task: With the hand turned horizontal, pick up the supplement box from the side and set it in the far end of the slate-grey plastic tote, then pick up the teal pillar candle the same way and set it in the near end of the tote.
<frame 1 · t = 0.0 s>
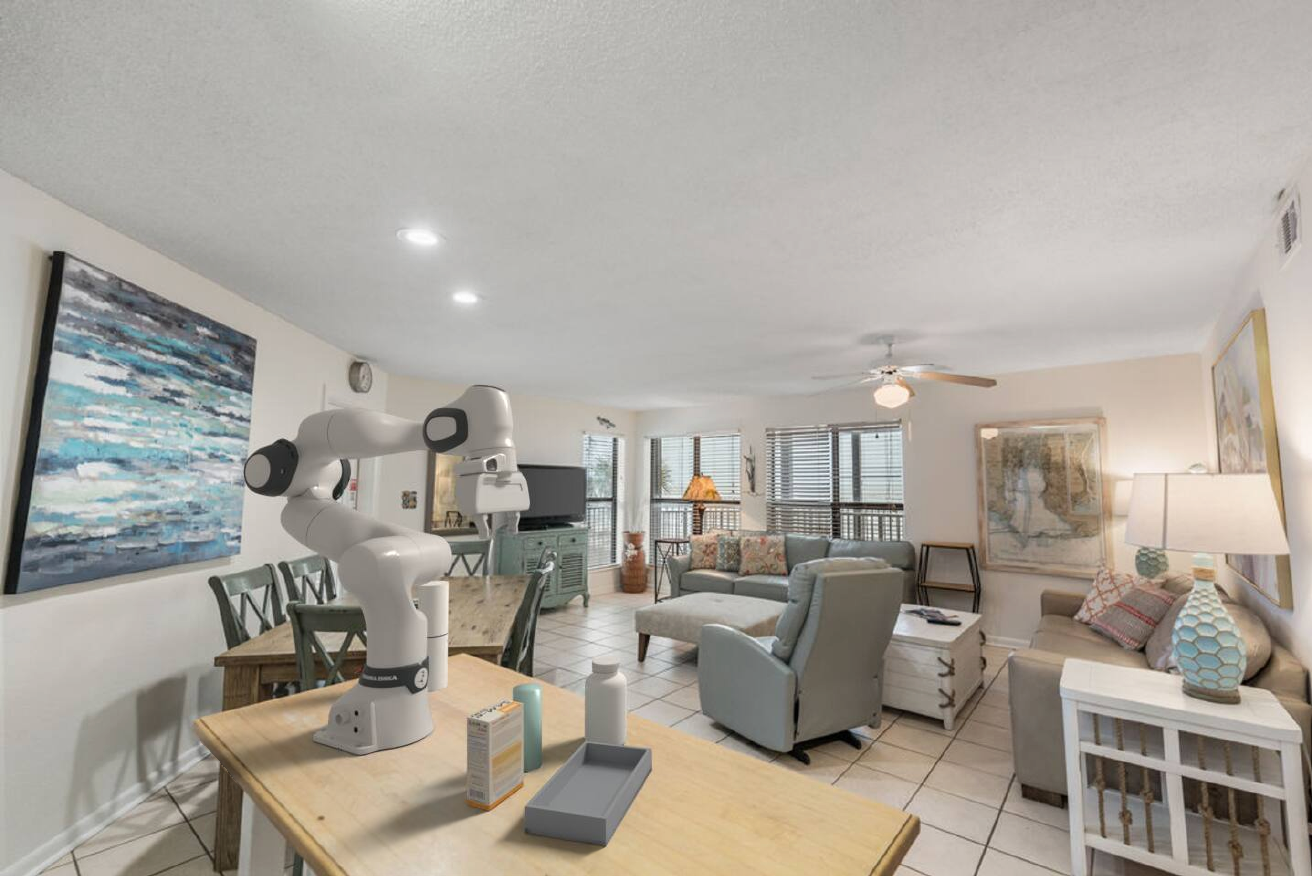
hand: (499, 536, 109), 39 cm above the table, tool pointing down, fingers open, 8 cm apart
candle: (527, 764, 98), on the table
cylindrical container: (431, 687, 139), on the table
supplement box: (495, 796, 89), on the table
pill bottle: (606, 742, 107), on the table
tote: (594, 798, 87), on the table
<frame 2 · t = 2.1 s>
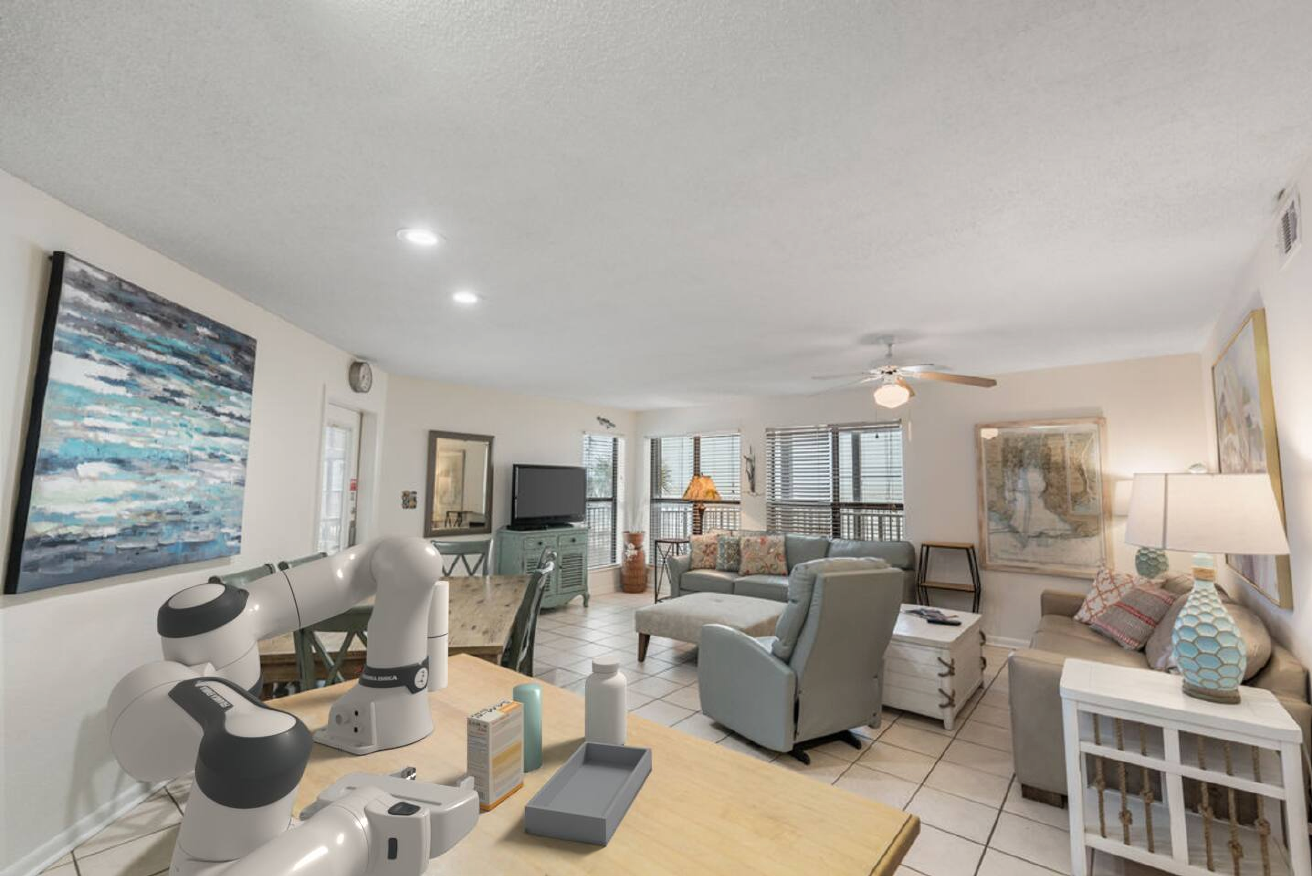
hand: (440, 776, 77), 9 cm above the table, tool horizontal, fingers open, 8 cm apart
nothing on the table moved.
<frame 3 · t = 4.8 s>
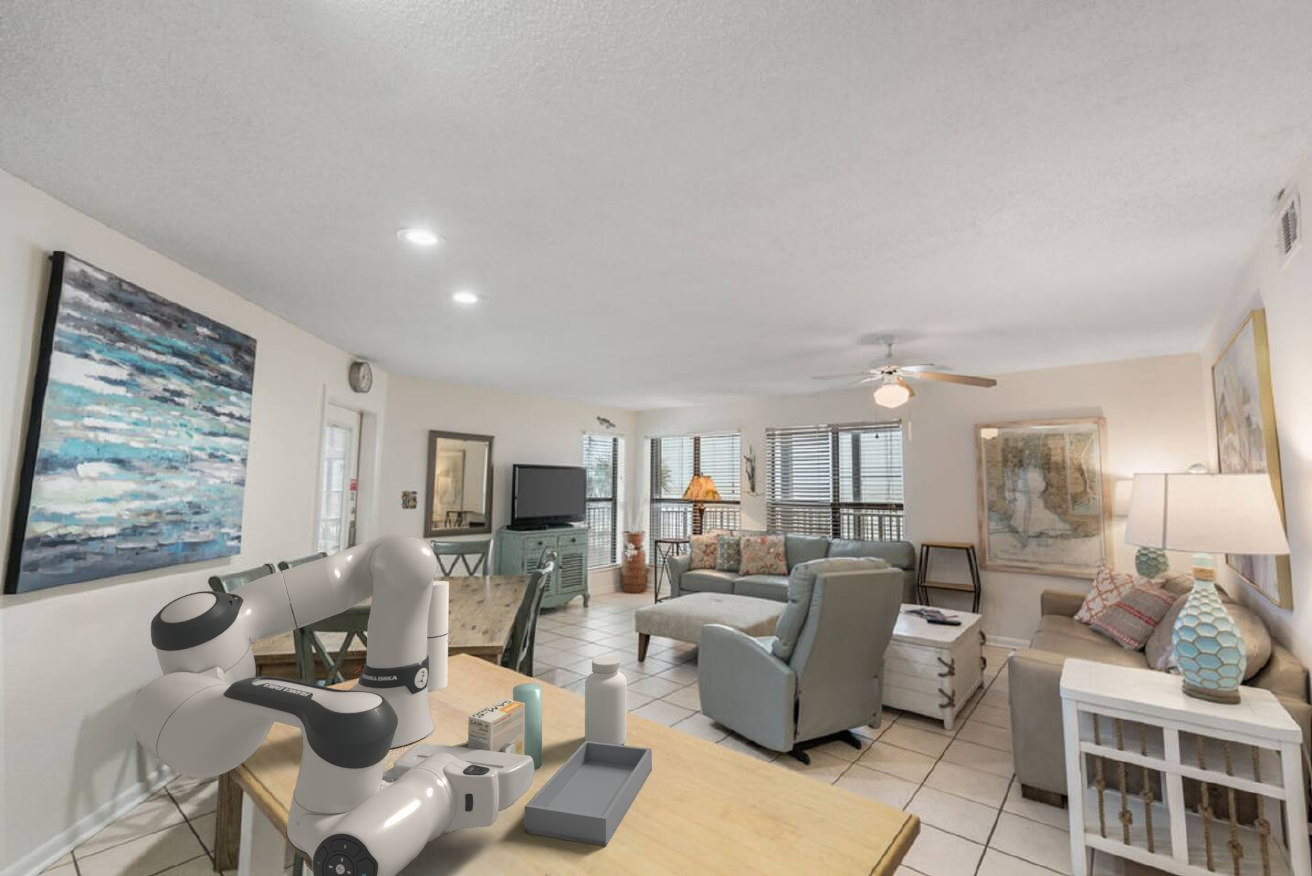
hand: (493, 746, 89), 8 cm above the table, tool horizontal, fingers closed on supplement box, 5 cm apart
supplement box: (495, 795, 89), on the table, touching gripper
everything else where it was.
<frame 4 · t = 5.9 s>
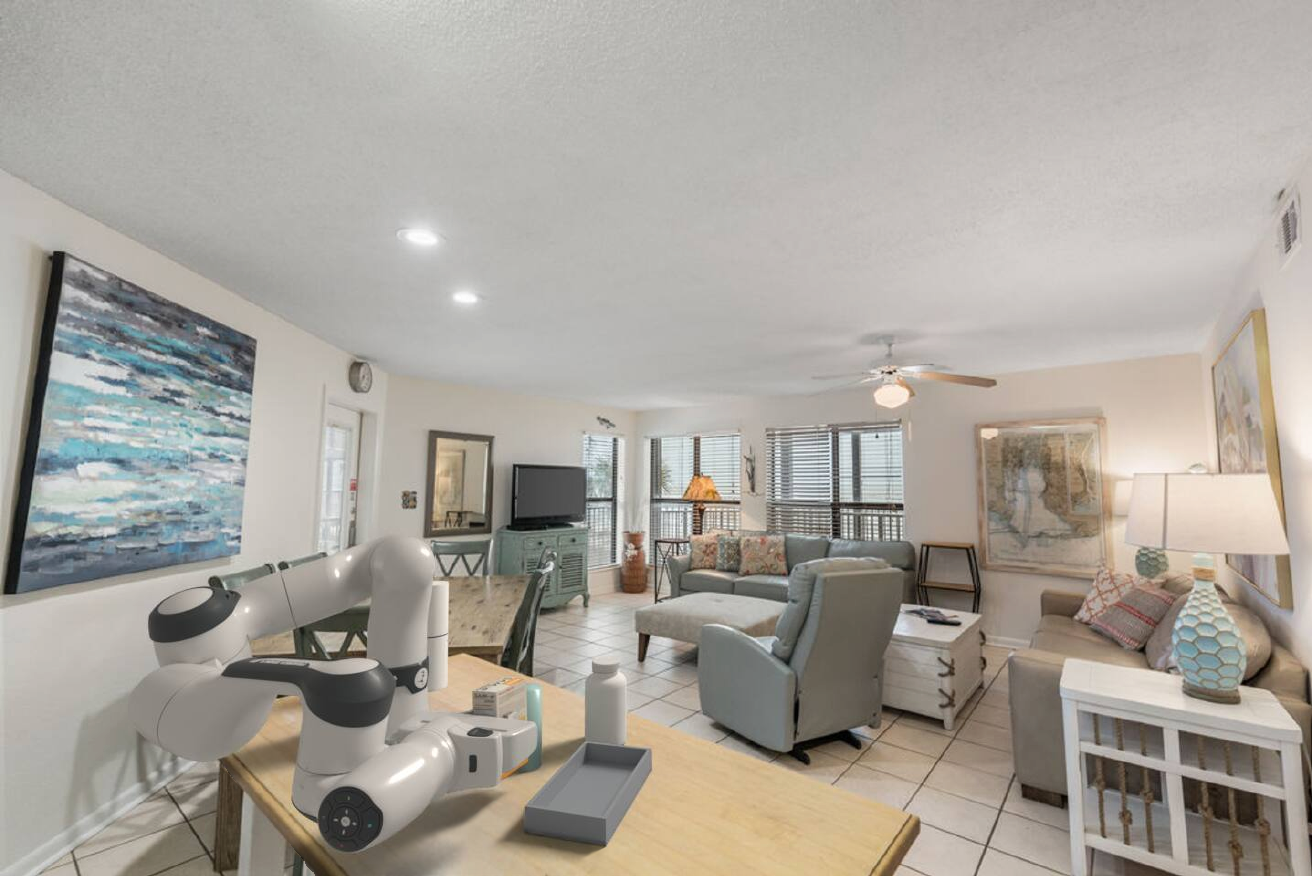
hand: (496, 714, 89), 12 cm above the table, tool horizontal, fingers closed on supplement box, 5 cm apart
supplement box: (501, 772, 88), point 4 cm above the table, touching gripper
everything else where it was.
when the fingers open (10 cm above the table, at t = 9.4 s): supplement box moves 2 cm, resting on tote.
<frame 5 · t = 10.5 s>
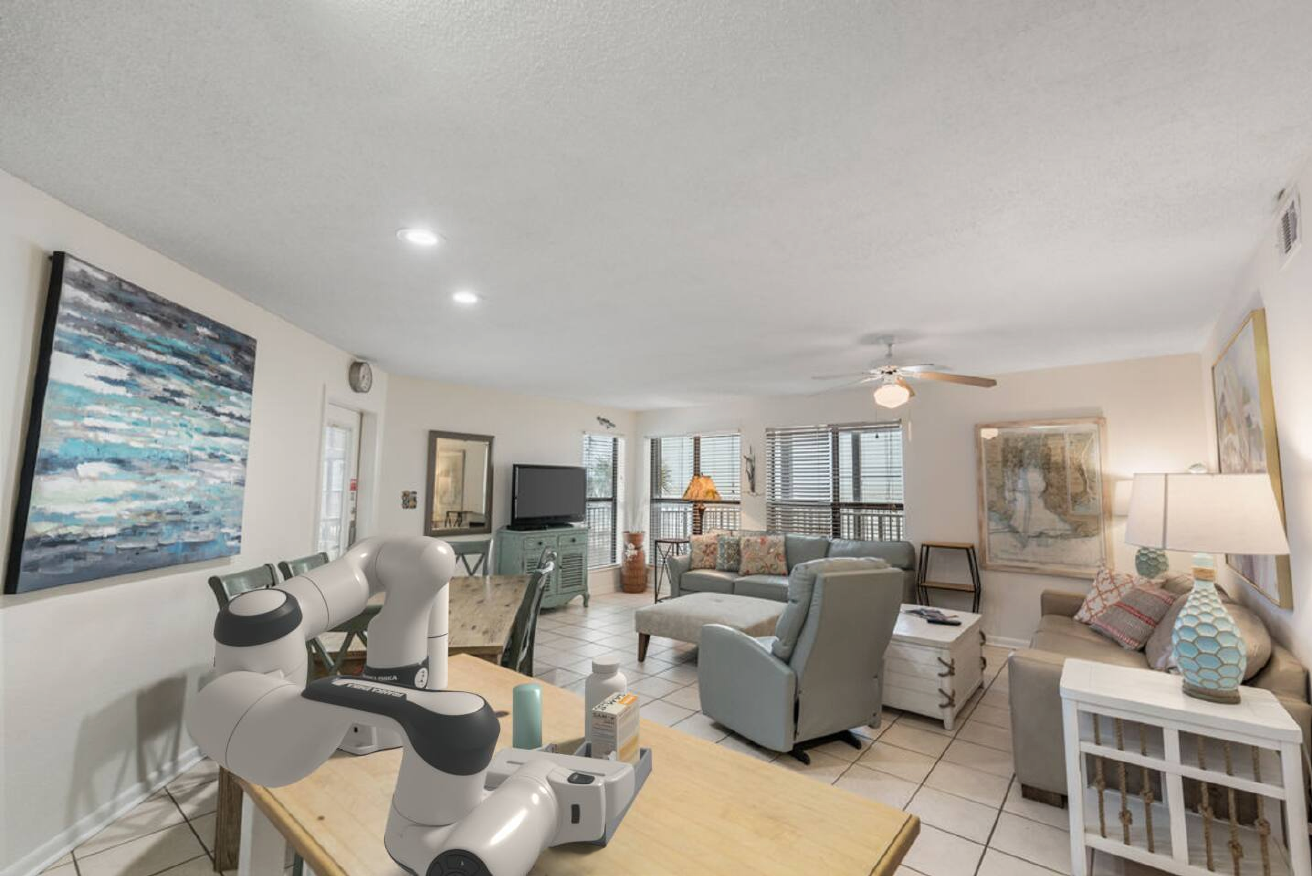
hand: (581, 751, 83), 9 cm above the table, tool horizontal, fingers open, 8 cm apart
supplement box: (616, 788, 89), resting on tote
everything else where it was.
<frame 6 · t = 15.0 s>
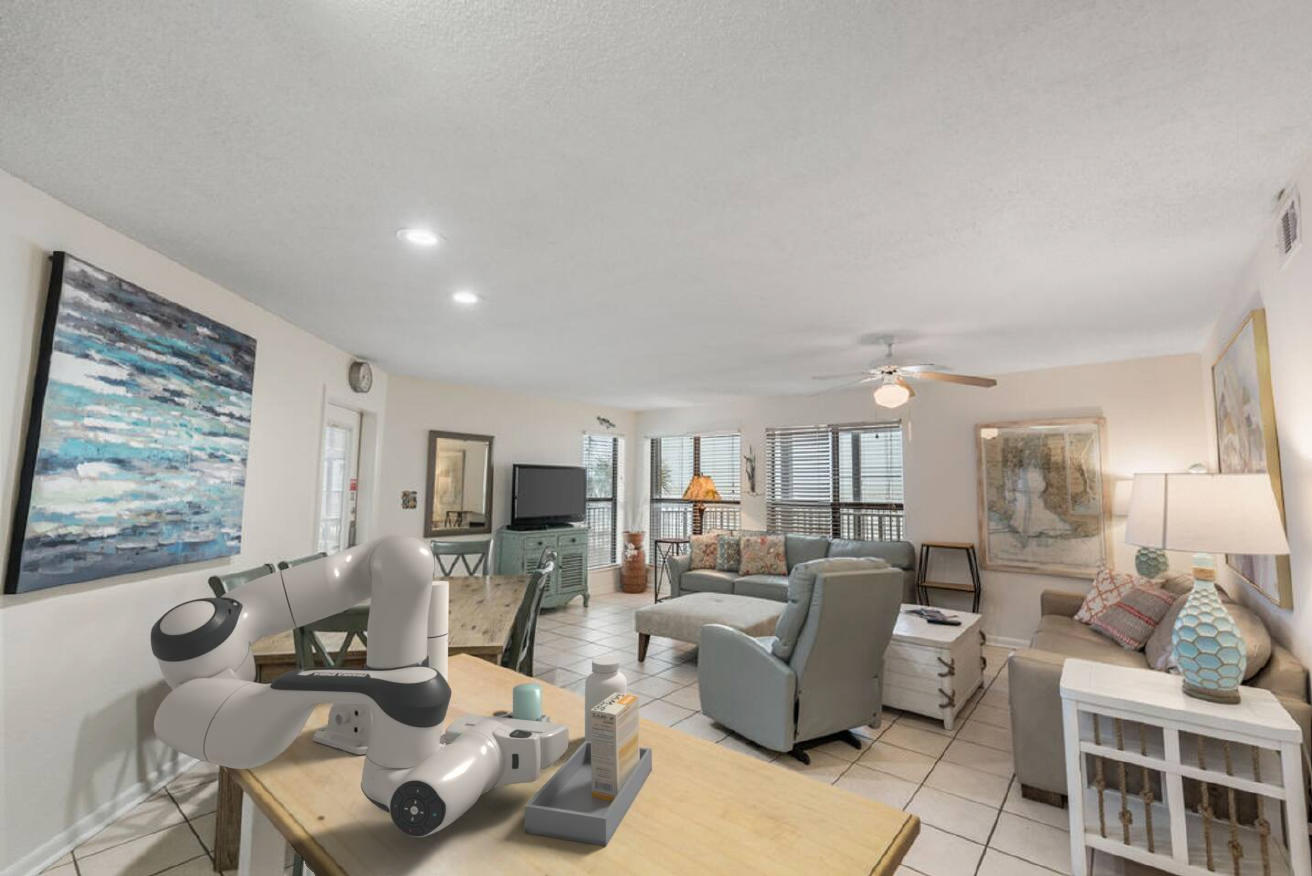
hand: (529, 717, 100), 8 cm above the table, tool horizontal, fingers closed on candle, 5 cm apart
candle: (527, 764, 98), on the table, touching gripper
everything else where it was.
when the fingers open (9 cm above the table, at t = 19.8 s): candle drops 1 cm, resting on tote.
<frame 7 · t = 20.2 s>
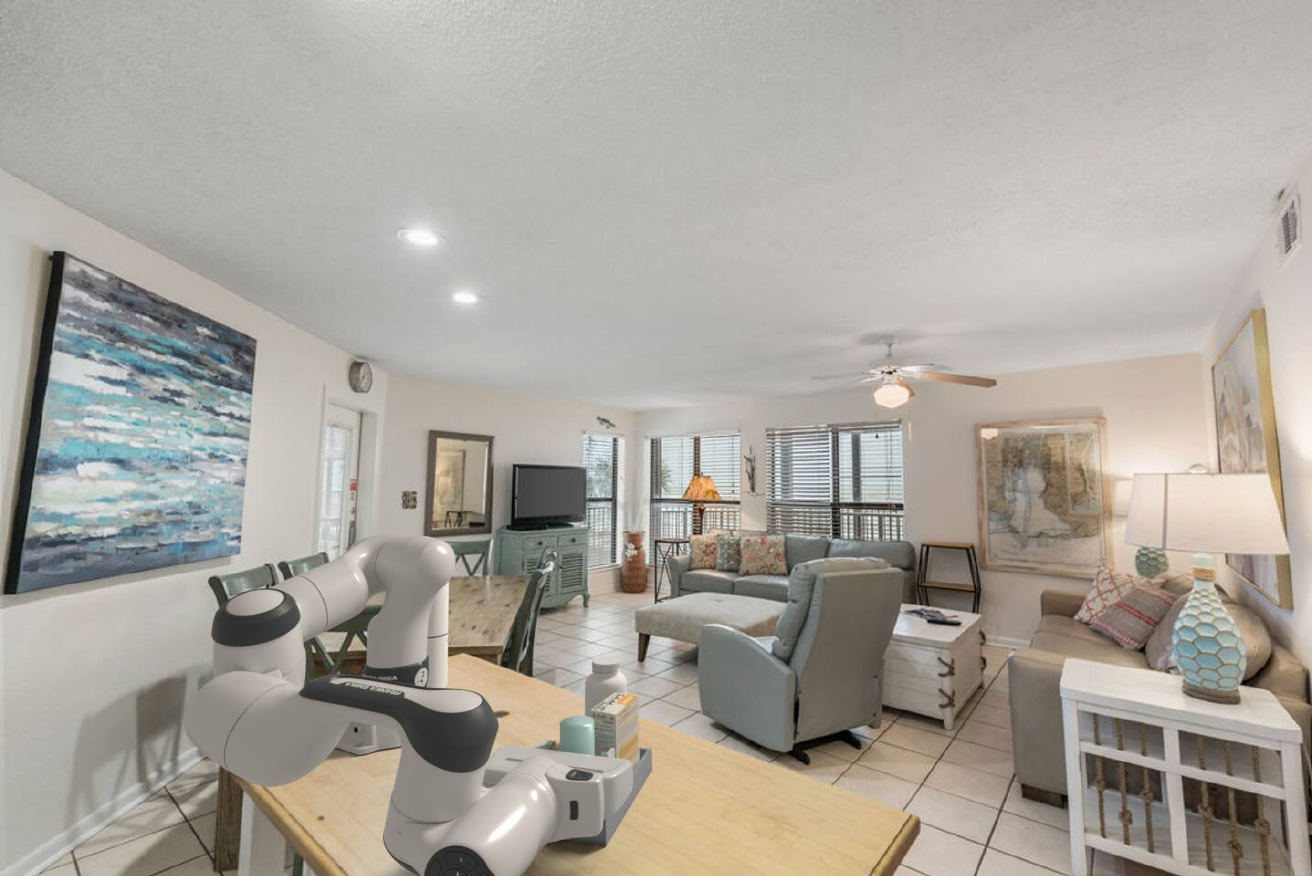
hand: (580, 748, 83), 9 cm above the table, tool horizontal, fingers open, 8 cm apart
candle: (578, 815, 81), point 1 cm above the table, touching tote
everything else where it was.
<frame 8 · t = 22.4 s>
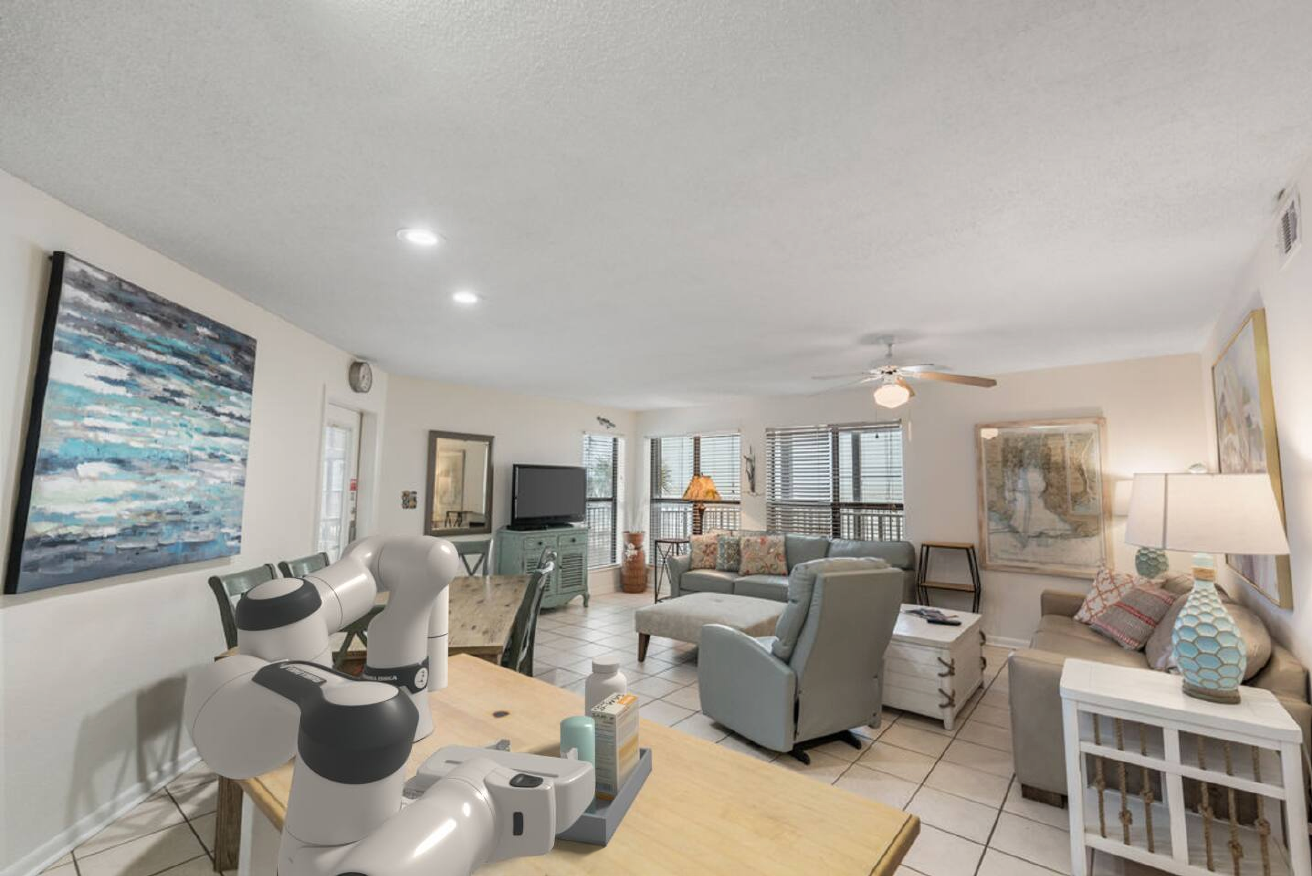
hand: (538, 749, 71), 15 cm above the table, tool horizontal, fingers open, 8 cm apart
nothing on the table moved.
at the end: supplement box inside the target area on the tote (3.7 cm from its centre), point 0.4 cm above the tote's base; candle inside the target area on the tote (6.1 cm from its centre), point 0.6 cm above the tote's base; candle tilted 0° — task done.
